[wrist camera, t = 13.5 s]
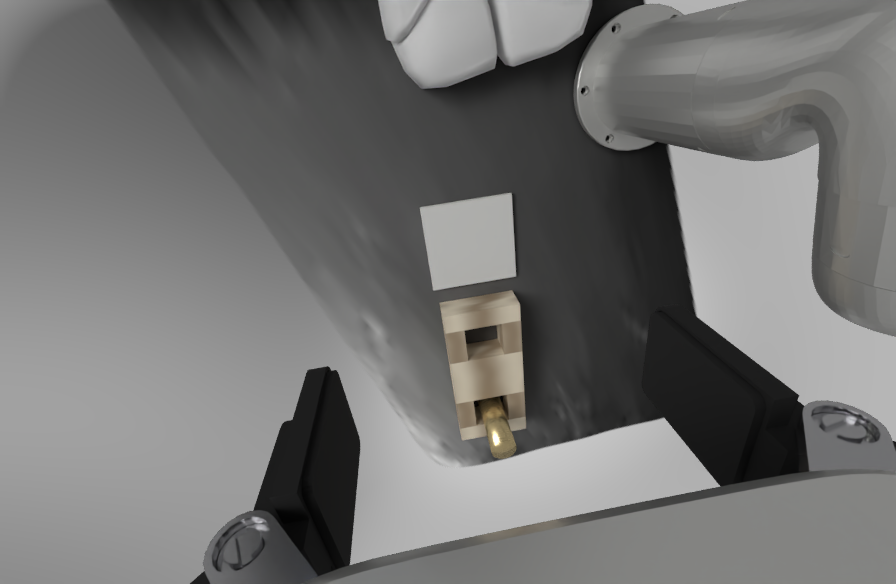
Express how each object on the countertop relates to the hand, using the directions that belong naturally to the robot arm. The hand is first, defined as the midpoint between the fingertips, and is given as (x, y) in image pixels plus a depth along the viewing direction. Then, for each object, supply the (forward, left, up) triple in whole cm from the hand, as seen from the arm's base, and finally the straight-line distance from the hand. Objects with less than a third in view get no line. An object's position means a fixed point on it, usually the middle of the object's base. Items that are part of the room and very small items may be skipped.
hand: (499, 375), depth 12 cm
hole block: (-4, +26, -33) cm, 42 cm away
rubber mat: (-4, +9, -33) cm, 35 cm away
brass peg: (-4, +31, -33) cm, 46 cm away
